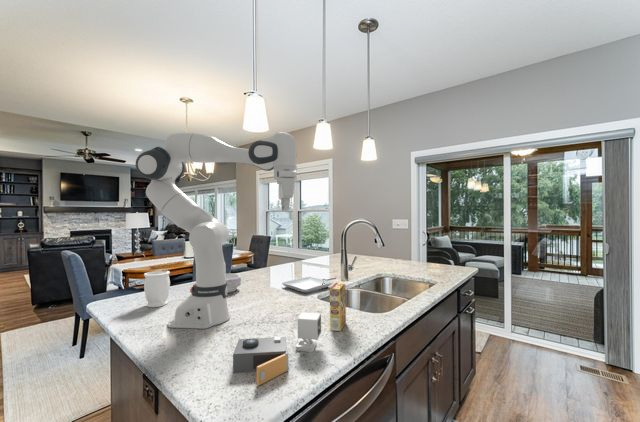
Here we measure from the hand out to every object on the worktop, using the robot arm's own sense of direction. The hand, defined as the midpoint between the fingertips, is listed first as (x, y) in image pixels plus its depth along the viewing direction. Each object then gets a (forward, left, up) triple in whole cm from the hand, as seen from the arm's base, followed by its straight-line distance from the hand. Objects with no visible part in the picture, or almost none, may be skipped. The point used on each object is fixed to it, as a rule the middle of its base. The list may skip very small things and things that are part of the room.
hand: (285, 210), depth 112 cm
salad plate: (+11, +49, -44) cm, 67 cm away
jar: (-60, +28, -44) cm, 79 cm away
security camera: (+7, -22, -44) cm, 49 cm away
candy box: (+19, -7, -44) cm, 48 cm away
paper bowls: (-33, +48, -44) cm, 73 cm away
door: (-3, -37, -43) cm, 57 cm away
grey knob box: (-7, -29, -43) cm, 53 cm away
